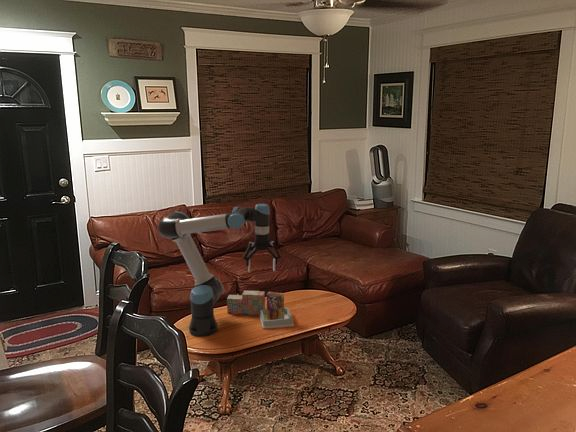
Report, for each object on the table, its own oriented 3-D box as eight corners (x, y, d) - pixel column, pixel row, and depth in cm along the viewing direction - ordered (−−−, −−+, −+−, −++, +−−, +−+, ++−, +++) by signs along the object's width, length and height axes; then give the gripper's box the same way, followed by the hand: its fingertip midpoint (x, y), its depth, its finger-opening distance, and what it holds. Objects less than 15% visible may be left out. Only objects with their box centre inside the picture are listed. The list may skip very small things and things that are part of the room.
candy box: (284, 318, 279) (284, 292, 276) (281, 321, 275) (281, 295, 272) (269, 316, 282) (269, 291, 279) (266, 319, 278) (266, 293, 275)
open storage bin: (262, 328, 269) (262, 321, 268) (259, 315, 286) (259, 309, 285) (293, 326, 272) (293, 319, 271) (288, 313, 288) (288, 306, 287)
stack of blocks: (227, 313, 289) (226, 293, 287) (229, 309, 296) (229, 289, 293) (263, 315, 287) (263, 295, 284) (265, 310, 293) (265, 291, 290)
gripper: (239, 235, 259) (239, 274, 264) (286, 234, 264) (285, 272, 269) (237, 231, 266) (237, 269, 271) (284, 230, 271) (283, 267, 276)
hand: (261, 271), depth 270 cm, fingers open, 13 cm apart
